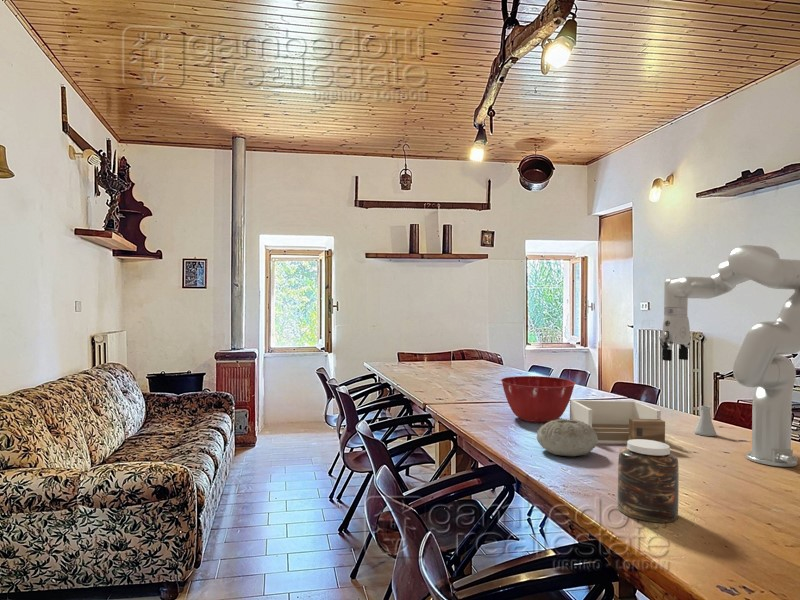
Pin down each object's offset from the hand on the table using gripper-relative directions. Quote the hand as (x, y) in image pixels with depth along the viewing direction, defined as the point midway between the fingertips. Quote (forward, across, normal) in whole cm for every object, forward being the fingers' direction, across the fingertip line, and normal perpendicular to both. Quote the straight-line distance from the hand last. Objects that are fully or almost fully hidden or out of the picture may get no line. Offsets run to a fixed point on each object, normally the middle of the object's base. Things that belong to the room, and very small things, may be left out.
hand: (675, 360), depth 193 cm
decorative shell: (+27, -56, -1) cm, 62 cm away
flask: (+27, +9, -6) cm, 29 cm away
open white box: (+26, -25, +6) cm, 37 cm away
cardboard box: (+26, -28, -8) cm, 39 cm away
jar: (+27, -77, -42) cm, 92 cm away
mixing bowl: (+26, -29, +39) cm, 55 cm away
